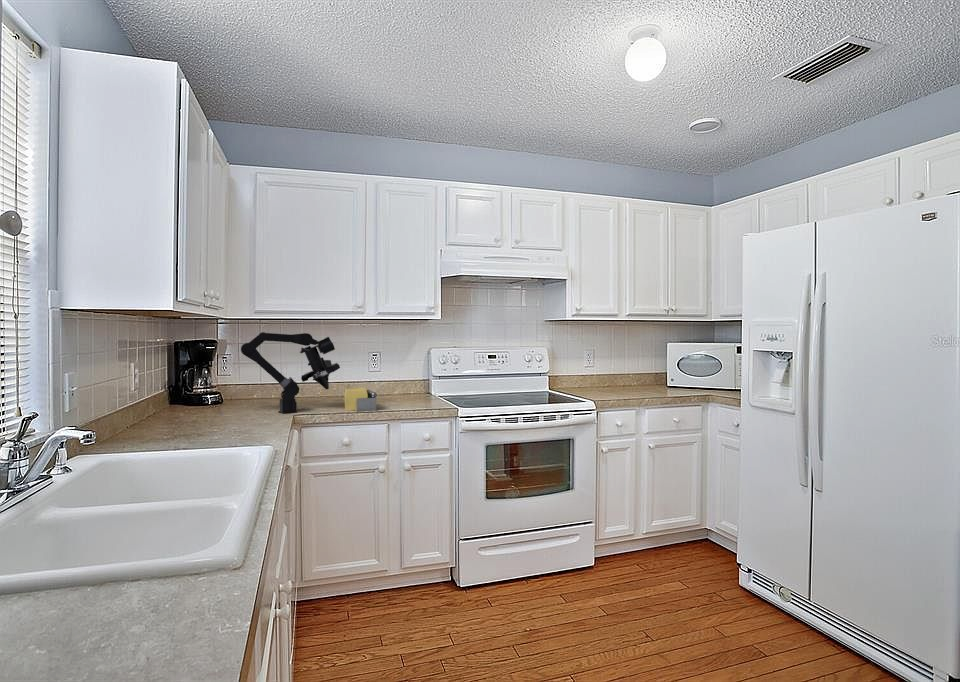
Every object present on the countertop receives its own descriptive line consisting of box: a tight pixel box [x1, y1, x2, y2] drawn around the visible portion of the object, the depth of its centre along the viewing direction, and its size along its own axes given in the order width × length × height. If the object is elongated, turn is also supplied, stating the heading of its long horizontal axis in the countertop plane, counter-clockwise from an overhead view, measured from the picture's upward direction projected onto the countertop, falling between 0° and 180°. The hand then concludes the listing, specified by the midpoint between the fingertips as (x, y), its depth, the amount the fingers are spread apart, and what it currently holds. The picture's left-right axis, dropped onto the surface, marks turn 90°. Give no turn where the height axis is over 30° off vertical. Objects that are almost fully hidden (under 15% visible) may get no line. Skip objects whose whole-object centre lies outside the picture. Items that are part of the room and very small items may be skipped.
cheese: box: [344, 387, 368, 410], centre depth 280 cm, size 10×11×10 cm
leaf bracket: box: [356, 389, 378, 412], centre depth 282 cm, size 10×17×8 cm, turn 23°
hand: (327, 389), depth 275 cm, fingers closed
